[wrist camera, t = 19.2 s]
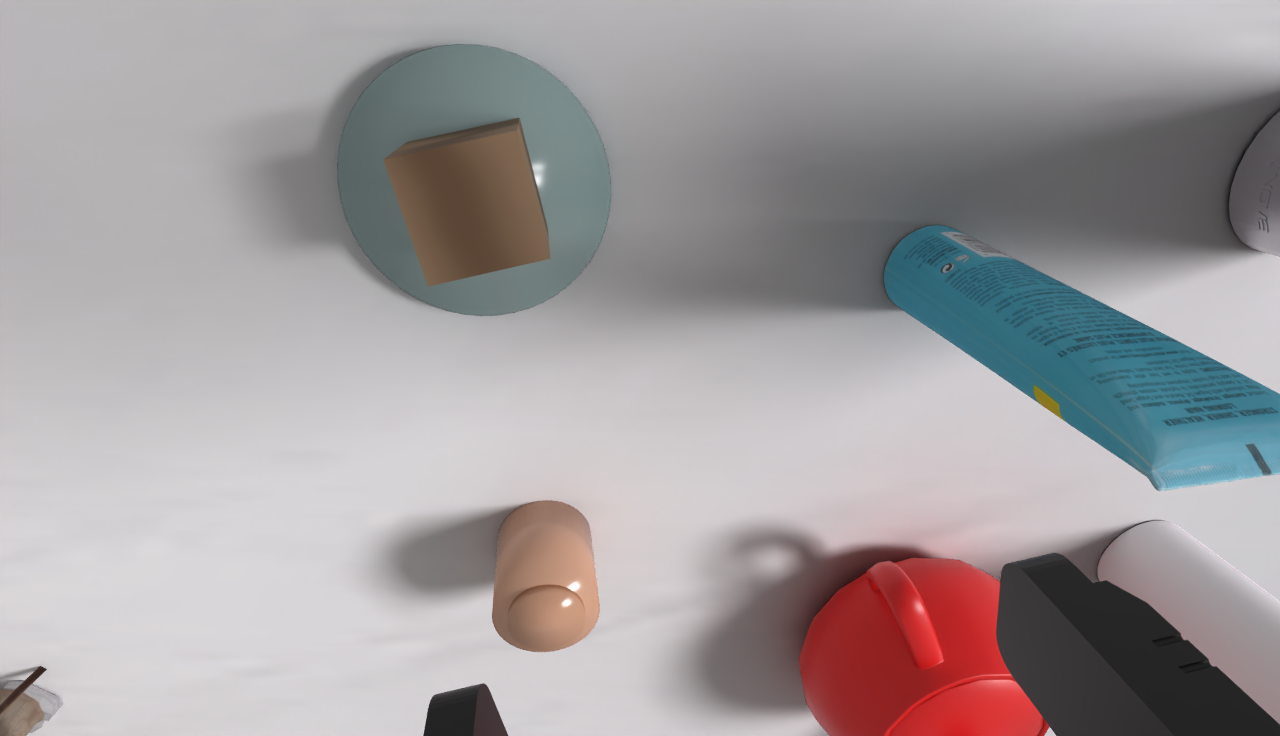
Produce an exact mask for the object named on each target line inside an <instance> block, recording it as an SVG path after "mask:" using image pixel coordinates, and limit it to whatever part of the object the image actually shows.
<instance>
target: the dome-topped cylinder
mask: <svg viewBox="0 0 1280 736" xmlns="http://www.w3.org/2000/svg"><path fill="white" fill-rule="evenodd" d="M599 612H600V605H599V597H598V588H597V580H596V572H595V563H594V555H593V547H592V538H591V531H590V526H589V524H588V522H587V520H586V518H585V517H584V516H583V514H581V513H580V512H579V511H578V510H577V509H575V508H574V507H572V506H570V505H568V504H565V503H562V502H558V501H536V502H532V503H528V504H526V505H523V506H521V507H519V508H517V509H516V510H514V511H513V512H512V513H510V514H509V515H508V516H507V517H506V519H505V520H504V521H503V523H502V525H501V527H500V529H499V532H498V540H497V554H496V568H495V582H494V597H493V611H492V620H493V624H494V627H495V629H496V631H497V632H498V634H499V635H500V636H501V637H502V638H503V639H504V640H505V641H506V642H508V643H509V644H511V645H513V646H515V647H517V648H520V649H523V650H527V651H533V652H550V651H556V650H560V649H564V648H567V647H569V646H571V645H573V644H575V643H577V642H579V641H580V640H582V639H583V638H584V637H585V636H587V635H588V634H589V633H590V631H591V630H592V629H593V628H594V626H595V624H596V622H597V620H598V617H599Z"/></svg>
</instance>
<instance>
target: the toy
mask: <svg viewBox="0 0 1280 736" xmlns="http://www.w3.org/2000/svg"><path fill="white" fill-rule="evenodd" d="M46 670H47V669H45V668H43V667H41V666H40V667H39V668H38V669H37V670H36V671H35V672H33V673H32V674H31V675H30V676H29V677H28V678H27V679H26V680H25V681H9V682H8V683H7V684H6V685H5V686H4V688H3V689H0V736H26V735H27V734H28V733H33V732H34V731H36V730H37V729H39V728H41V727H42V725H43V722H44V720H47V721H49V720H50V718H51V717H52V716H53V715H54V714H55V713H56V711H57V710H58V709H59V708H60V707H61V706H62V702H61V701H60V699H59V697H58V696H55V695H53V694H51V693H49V692H47V691H44V690H42V689H40V688H38V687H36V686H33V685H31V684H32V683H33V682H34V681H35V680H36V679H37V678H38V677H39V676H40V675H41V674H42V673H43V672H44V671H46Z"/></svg>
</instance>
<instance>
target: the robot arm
mask: <svg viewBox="0 0 1280 736" xmlns="http://www.w3.org/2000/svg"><path fill="white" fill-rule="evenodd" d="M1229 212H1230V221H1231V224H1232V226H1233V229H1234V232H1235V233H1236V235H1237V236H1238V237H1239V238H1240V240H1241V241H1242V242H1243V243H1244V244H1246V245H1248V246H1249V247H1251V248H1252V249H1255V250H1259V251H1262V252H1266V253H1269V254H1273V255H1276V256H1280V111H1279V112H1278V113H1277V114H1276V115H1275V116H1273V117H1272V119H1271V120H1270V121H1269V122H1268V123H1267V124H1266V125H1265V126H1264V127H1263V129H1262V130H1261V131H1260V132H1259V133H1258V134H1257V136H1256V137H1255V139H1254V140H1253V142H1252V143H1251V145H1250V146H1249V148H1248V149H1247V151H1246V152H1245V154H1244V156H1243V158H1242V160H1241V162H1240V164H1239V166H1238V168H1237V171H1236V174H1235V177H1234V180H1233V183H1232V187H1231V192H1230V200H1229ZM996 638H997V644H998V647H999V651H1000V653H1001V656H1002V658H1003V661H1004V663H1005V665H1006V667H1007V669H1008V670H1009V672H1010V673H1011V675H1012V676H1013V678H1014V679H1015V680H1016V682H1017V683H1018V685H1019V686H1020V687H1021V689H1022V690H1023V691H1024V693H1025V694H1026V695H1027V697H1028V698H1029V699H1030V701H1031V702H1032V703H1033V705H1034V706H1035V707H1036V709H1037V710H1038V711H1039V713H1040V714H1041V715H1042V717H1043V718H1044V719H1045V721H1046V722H1047V723H1048V725H1049V726H1050V728H1051V729H1052V730H1053V732H1054V733H1055V734H1056V736H1280V724H1279V723H1278V722H1277V721H1275V720H1274V719H1273V718H1272V717H1271V716H1270V715H1269V714H1268V713H1267V712H1266V711H1265V710H1264V709H1262V708H1261V707H1260V706H1259V705H1258V704H1257V703H1256V702H1255V701H1254V700H1253V699H1252V698H1250V697H1249V696H1248V695H1247V694H1246V693H1245V692H1244V691H1243V690H1242V689H1241V688H1240V687H1238V686H1237V685H1236V684H1235V683H1234V682H1233V681H1232V680H1231V679H1230V678H1229V677H1228V676H1227V675H1225V674H1224V673H1223V672H1222V671H1221V670H1220V669H1219V668H1218V667H1217V666H1214V667H1213V666H1212V665H1211V664H1210V662H1209V659H1208V658H1207V657H1206V656H1205V655H1204V654H1203V653H1202V652H1200V651H1199V650H1198V649H1197V648H1196V647H1195V646H1194V645H1193V644H1192V643H1191V642H1190V641H1188V640H1184V639H1183V638H1182V637H1181V633H1180V632H1179V631H1178V630H1177V629H1175V628H1174V627H1173V626H1172V625H1171V624H1170V623H1169V622H1168V621H1167V620H1166V619H1165V618H1163V617H1162V616H1161V615H1160V614H1159V613H1158V612H1157V611H1156V610H1155V609H1154V608H1153V607H1151V606H1150V605H1149V604H1148V603H1147V602H1145V601H1143V600H1141V599H1139V598H1138V597H1136V596H1134V595H1132V594H1130V593H1129V592H1127V591H1125V590H1123V589H1121V588H1119V587H1118V586H1116V585H1114V584H1112V583H1110V582H1109V581H1107V580H1105V581H1101V582H1096V583H1092V582H1091V581H1090V580H1089V579H1088V578H1087V577H1086V576H1085V575H1084V574H1083V573H1082V572H1081V571H1080V570H1079V569H1078V568H1077V567H1076V566H1075V565H1073V564H1072V563H1071V562H1070V561H1069V560H1068V559H1067V558H1065V557H1064V556H1062V555H1060V554H1057V553H1051V554H1047V555H1042V556H1038V557H1034V558H1030V559H1025V560H1021V561H1017V562H1012V563H1008V564H1006V565H1005V566H1004V567H1003V569H1002V572H1001V581H1000V592H999V604H998V615H997V626H996ZM424 736H508V734H507V732H506V729H505V727H504V724H503V722H502V720H501V717H500V715H499V712H498V710H497V707H496V705H495V703H494V700H493V698H492V695H491V693H490V691H489V689H488V687H487V685H486V684H478V685H474V686H470V687H466V688H461V689H457V690H453V691H448V692H444V693H440V694H436V695H434V696H433V697H432V699H431V701H430V704H429V708H428V713H427V719H426V724H425V730H424Z"/></svg>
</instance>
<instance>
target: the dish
mask: <svg viewBox="0 0 1280 736" xmlns="http://www.w3.org/2000/svg"><path fill="white" fill-rule="evenodd" d="M516 118H520V121H521V125H522V129H523V133H524V137H525V141H526V145H527V148H528V152H529V156H530V160H531V164H532V168H533V172H534V176H535V180H536V184H537V188H538V191H539V195H540V199H541V203H542V207H543V211H544V215H545V219H546V223H547V227H548V235H549V247H550V259H547V260H543V261H539V262H534V263H530V264H525V265H521V266H517V267H512V268H508V269H503V270H499V271H495V272H490V273H486V274H481V275H477V276H473V277H468V278H464V279H459V280H455V281H450V282H446V283H442V284H437V285H433V286H428V285H427V282H426V280H425V277H424V274H423V271H422V268H421V265H420V263H419V260H418V257H417V254H416V251H415V248H414V246H413V243H412V240H411V237H410V234H409V232H408V229H407V226H406V223H405V220H404V217H403V215H402V212H401V209H400V206H399V203H398V200H397V198H396V195H395V192H394V189H393V186H392V183H391V181H390V178H389V175H388V172H387V169H386V166H385V164H384V161H383V159H385V158H386V157H387V156H389V155H390V154H391V153H393V152H394V151H395V150H397V149H398V148H399V147H401V146H402V145H403V144H404V143H406V142H409V141H414V140H419V139H423V138H428V137H432V136H437V135H442V134H446V133H451V132H456V131H460V130H465V129H469V128H474V127H479V126H483V125H488V124H493V123H497V122H502V121H506V120H511V119H516ZM337 170H338V187H339V192H340V198H341V203H342V206H343V209H344V213H345V216H346V219H347V221H348V224H349V226H350V228H351V230H352V232H353V235H354V237H355V238H356V240H357V242H358V243H359V245H360V246H361V248H362V250H363V251H364V253H365V254H366V255H367V256H368V258H369V259H370V260H371V261H372V263H373V264H374V265H375V266H376V267H377V268H378V269H379V270H380V271H381V272H382V273H383V274H384V275H385V276H386V277H387V278H388V279H389V280H390V281H392V282H393V283H394V284H395V285H397V286H398V287H399V288H400V289H402V290H403V291H405V292H407V293H408V294H410V295H412V296H413V297H415V298H417V299H419V300H421V301H423V302H425V303H427V304H429V305H431V306H434V307H437V308H440V309H443V310H446V311H450V312H455V313H460V314H465V315H476V316H494V315H503V314H509V313H515V312H518V311H522V310H525V309H529V308H531V307H533V306H536V305H538V304H540V303H543V302H545V301H546V300H548V299H550V298H551V297H553V296H555V295H557V294H558V293H559V292H560V291H562V290H563V289H564V288H566V287H567V286H568V285H569V284H570V283H571V282H572V281H573V280H574V279H575V278H576V277H577V276H578V275H579V274H580V273H581V272H582V271H583V269H584V268H585V267H586V266H587V264H588V263H589V262H590V260H591V258H592V257H593V255H594V253H595V251H596V250H597V248H598V246H599V243H600V241H601V239H602V236H603V234H604V231H605V227H606V223H607V220H608V216H609V208H610V201H611V181H610V173H609V165H608V161H607V157H606V153H605V149H604V146H603V144H602V141H601V139H600V136H599V134H598V131H597V129H596V127H595V125H594V124H593V122H592V120H591V118H590V116H589V115H588V113H587V112H586V110H585V109H584V108H583V106H582V105H581V103H580V102H579V101H578V99H577V98H576V97H575V96H574V95H573V94H572V93H571V92H570V91H569V89H568V88H567V87H566V86H565V85H564V84H563V83H562V82H560V81H559V80H558V79H557V78H556V77H554V76H553V75H552V74H551V73H550V72H548V71H547V70H545V69H544V68H542V67H540V66H539V65H537V64H536V63H534V62H532V61H530V60H528V59H526V58H524V57H522V56H519V55H517V54H515V53H512V52H509V51H505V50H502V49H499V48H494V47H488V46H482V45H464V44H456V45H447V46H439V47H435V48H431V49H427V50H424V51H420V52H418V53H415V54H413V55H411V56H408V57H406V58H404V59H402V60H400V61H399V62H397V63H396V64H394V65H392V66H391V67H389V68H388V69H386V70H385V71H384V72H383V73H382V74H381V75H379V76H378V77H377V78H376V79H375V80H374V81H373V82H372V83H371V84H370V85H369V86H368V87H367V89H366V90H365V91H364V92H363V93H362V95H361V96H360V97H359V99H358V101H357V102H356V104H355V106H354V107H353V109H352V111H351V113H350V115H349V117H348V120H347V122H346V125H345V127H344V130H343V134H342V138H341V142H340V146H339V154H338V163H337Z"/></svg>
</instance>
